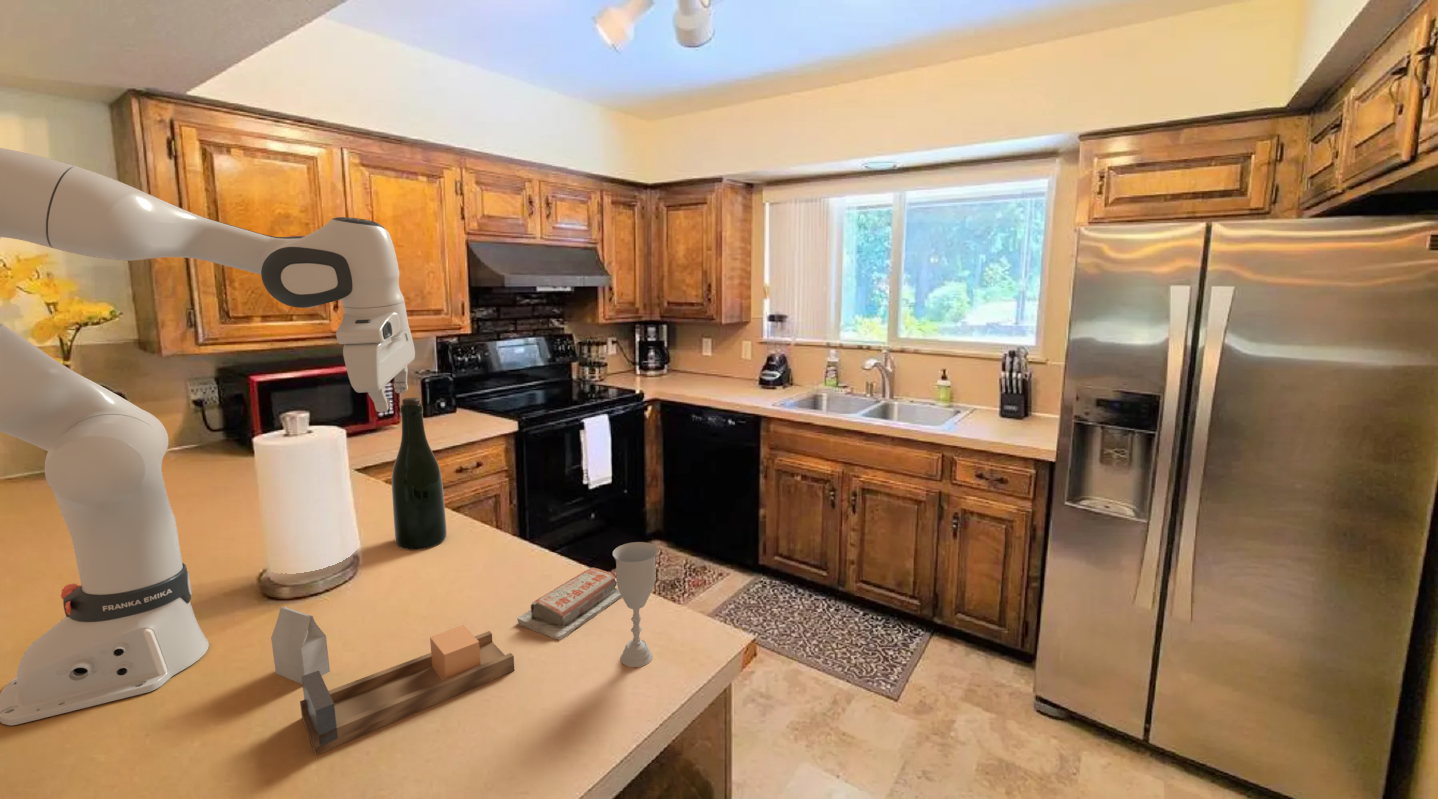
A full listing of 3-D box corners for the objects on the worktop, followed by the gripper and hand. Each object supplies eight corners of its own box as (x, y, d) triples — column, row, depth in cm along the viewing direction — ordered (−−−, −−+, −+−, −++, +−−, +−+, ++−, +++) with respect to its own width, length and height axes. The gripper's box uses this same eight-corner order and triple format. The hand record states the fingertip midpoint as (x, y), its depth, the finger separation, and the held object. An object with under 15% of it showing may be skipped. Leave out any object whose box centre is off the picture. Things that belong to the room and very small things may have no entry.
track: (315, 755, 78) (313, 737, 77) (301, 717, 84) (299, 701, 84) (514, 670, 95) (513, 655, 95) (490, 644, 101) (489, 630, 101)
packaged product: (585, 561, 122) (625, 573, 118) (585, 584, 123) (626, 596, 119) (515, 601, 107) (559, 616, 102) (516, 626, 108) (560, 643, 103)
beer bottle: (422, 554, 134) (410, 404, 128) (384, 547, 137) (371, 400, 131) (457, 536, 144) (447, 396, 138) (421, 529, 147) (410, 392, 141)
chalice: (638, 676, 94) (637, 566, 91) (604, 661, 98) (602, 554, 94) (667, 653, 100) (667, 548, 97) (634, 639, 104) (633, 538, 100)
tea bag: (305, 685, 91) (298, 623, 89) (275, 673, 93) (267, 612, 92) (329, 671, 94) (323, 610, 92) (300, 660, 97) (293, 601, 95)
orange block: (446, 686, 90) (444, 654, 89) (432, 667, 94) (429, 637, 93) (481, 672, 93) (479, 641, 92) (465, 654, 97) (463, 625, 96)
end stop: (319, 746, 78) (315, 710, 77) (305, 709, 84) (301, 676, 83) (337, 738, 79) (334, 703, 78) (322, 703, 86) (318, 670, 85)
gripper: (379, 309, 110) (393, 383, 115) (330, 336, 91) (349, 423, 96) (417, 307, 111) (429, 381, 116) (376, 334, 92) (393, 420, 97)
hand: (393, 400), depth 106 cm, fingers open, 8 cm apart
